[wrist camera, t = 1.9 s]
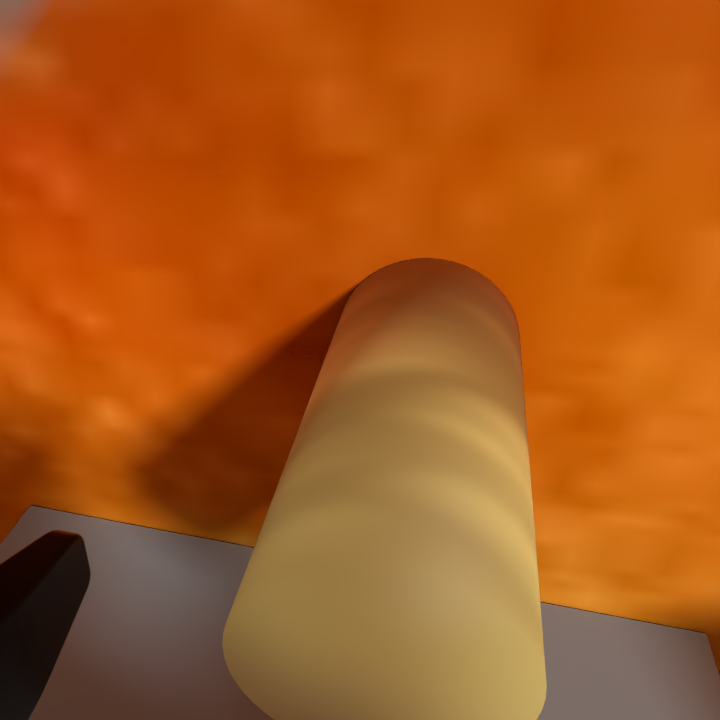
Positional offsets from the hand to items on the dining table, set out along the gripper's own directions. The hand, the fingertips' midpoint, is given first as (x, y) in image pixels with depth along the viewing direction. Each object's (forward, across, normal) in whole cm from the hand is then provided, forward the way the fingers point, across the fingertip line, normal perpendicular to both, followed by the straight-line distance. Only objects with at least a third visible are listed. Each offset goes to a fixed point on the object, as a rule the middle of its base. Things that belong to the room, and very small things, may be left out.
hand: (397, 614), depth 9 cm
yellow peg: (+7, 0, 0) cm, 7 cm away
